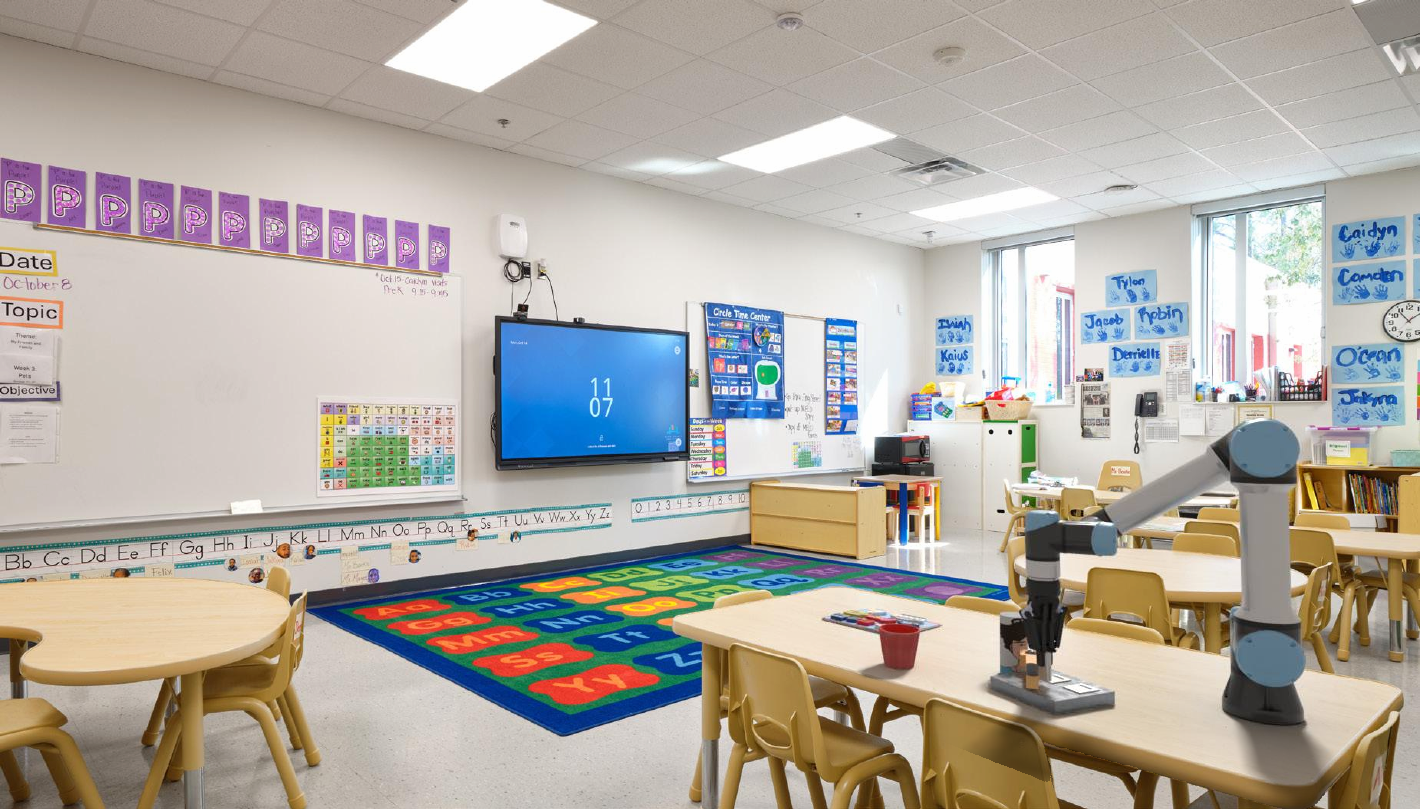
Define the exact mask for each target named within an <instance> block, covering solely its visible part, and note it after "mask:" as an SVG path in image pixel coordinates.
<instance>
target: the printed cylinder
mask: <svg viewBox="0 0 1420 809" xmlns="http://www.w3.org/2000/svg"><path fill="white" fill-rule="evenodd" d="M1020 649H1022V650H1029V646H1028V642H1027V637H1026V633H1025V628H1024V624H1023V619H1022V617H1021V616H1020V614H1019V611H1002V612H1000V613H999V675H1001V674H1008V673H1014V672H1021V671H1026V667H1023V666H1020Z"/></svg>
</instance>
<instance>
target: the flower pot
mask: <svg viewBox="0 0 1420 809" xmlns="http://www.w3.org/2000/svg"><path fill="white" fill-rule="evenodd" d="M878 634H879V641H880V647H881V653H882V659H883V663H884V666H886V667H888V668H891V669H892V668H893V669H897V670H907V669H908V670H909V669H911V668H913V667H915V663H916V657H917V652H918V646H919V641H920V640H919V639H920V634H921V632H920V629H919V628H917V627H915V626H912V625H906V624H884V625H881V626H879V633H878Z"/></svg>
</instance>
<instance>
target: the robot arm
mask: <svg viewBox="0 0 1420 809" xmlns="http://www.w3.org/2000/svg"><path fill="white" fill-rule="evenodd" d="M1300 452H1301V448H1300V442H1299V439H1298V437H1297V436H1296V434H1295V432H1294V431H1293V430H1292V429H1291V428H1290V427H1289V426H1287V425H1286V424H1285V423H1283V422H1281V421H1279V420H1276V419H1273V418H1264V417H1260V418H1253V419H1248V420H1245V421H1243V422H1241V423H1238V424H1237V425H1235V427H1233V428H1232V429H1231V430H1230V431H1229V432H1228V433H1226V434H1225V435H1223V436H1222V437H1221V438H1218V439H1217V440H1216V441H1214V442H1212V443H1211V444H1209V445H1207V447H1206V450H1205V452H1204V453H1202V454H1200V455H1198V456H1196V457H1195V458H1192V459H1191V460H1189V461H1187V462H1185V463H1182V465H1179V466H1178V467H1176V468H1174V469H1172V470H1171V471H1169V472H1167V473H1165V474H1163V475H1161V476H1160V477H1157V478H1156V479H1153V480H1152V481H1150V482H1148V483H1145V485H1143V486H1141V487H1139V488H1137V489H1136V490H1134V491H1132V492H1130V493H1128V494H1126V495H1124V496H1123V497H1120V498H1119V499H1118V500H1115V501H1113V502H1112V503H1110V504H1108V505H1106V506H1105V507H1103V508H1101V509H1099V510H1096V511H1095V512H1093V513H1092V514H1088V515H1086V516H1084V517H1082V518H1081V519H1080V520H1064V519H1061V517H1060V514H1059V512H1057V511H1055V510H1047V509H1035V510H1029V511H1027V512H1026V514H1025V515H1024V519H1025V520H1024V530H1023V531H1024V550H1025V553H1024V554H1025V575H1026V576H1027V577H1026V578H1025V592H1026V594H1027V596H1028V599H1027V602H1026V606H1025V607H1024V609H1022V608H1020V609H1019V610H1018V612H1019V614H1020V616H1021V617H1022V619H1023V624H1024V628H1025V633H1026V637H1027V642H1028V649H1029V650H1034V651H1036V661H1037V664H1038V665H1039V679H1041V680H1044V681H1046V682H1050V681H1052V675H1051V669H1052V666H1053V664H1054V654H1055V653H1057V651H1058V650H1057V649H1059V648H1060V647H1061V643H1062V638H1063V637H1062V636H1063V631H1064V630H1063V629H1064V624H1065V619H1066V618H1065V617H1066V615H1067V612H1068V610H1069V607H1068V606H1066V605H1063V604H1062V603H1060V602H1061V600H1060V598H1059V596H1061V593H1062V588H1061V586H1062V584H1061V580H1060V578H1061V575H1062V574H1061V554H1064V555H1065V554H1070V555H1071V554H1072V555H1085V556H1097V557H1114V556H1116V555H1117V553H1118V539H1119V538H1121V537H1122V536H1124V535H1126V534H1127V533H1130V532H1131V531H1134V530H1135V529H1137V528H1139V527H1141V526H1143V525H1145V524H1147V523H1148V522H1151V521H1153V520H1155V519H1157V518H1159V517H1161V516H1162V515H1164V514H1166V513H1168V512H1170V511H1172V510H1174V509H1176V508H1178V507H1180V506H1182V505H1184V504H1187V503H1188V502H1189V501H1192V500H1193V499H1195V498H1198V497H1199V496H1202V495H1203V494H1205V493H1207V492H1209V491H1210V490H1213V489H1215V488H1216V487H1218V486H1220V485H1222V484H1224V483H1226V482H1230V484H1231V485H1232V486H1233V487H1234V488H1235V489H1236V490H1237V491H1238V506H1239V509H1238V510H1239V536H1240V537H1239V541H1240V542H1239V543H1240V544H1239V545H1240V546H1239V547H1240V581H1241V582H1240V584H1241V586H1240V588H1241V605H1240V606H1236V605H1235V606H1233V607H1231V609H1230V611H1229V617H1228V620H1229V625H1230V626H1229V637H1230V638H1229V642H1230V646H1229V647H1230V653H1229V654H1230V673H1229V674H1230V675H1229V678H1228V679H1227V683H1226V685H1225V687H1224V690H1223V693H1222V695H1221V709H1222V710H1224V711H1225V712H1226V713H1228V714H1231V715H1233V716H1236V717H1238V718H1241V719H1245V720H1247V721H1253V722H1257V723H1262V724H1263V723H1264V724H1269V725H1270V724H1271V725H1279V726H1281V725H1282V726H1284V725H1287V726H1290V725H1291V726H1292V725H1298V724H1297V723H1299V724H1301V723H1303V722H1305V710H1304V709H1305V708H1304V706H1303V704H1302V700H1301V699H1300V696H1299V693H1298V691H1297V690H1298V689H1297V688H1296V685H1295V683H1296V682H1297V681H1298V680H1299V679H1300V678H1301V677H1302V675H1303V674H1304V671H1305V669H1306V666H1307V665H1306V664H1307V663H1306V662H1307V658H1306V655H1305V651H1304V650H1303V644H1302V642H1303V641H1302V640H1303V639H1302V638H1303V636H1302V618H1301V617H1299V616H1298V614H1296V613H1295V612H1294V611H1293V609H1292V606H1293V605H1292V581H1291V580H1292V579H1291V577H1292V575H1291V543H1290V540H1291V538H1290V508H1289V507H1290V505H1289V503H1290V502H1289V501H1290V500H1289V493H1290V491H1292V490H1293V489H1294V488H1295V487H1297V485H1298V474H1297V473H1298V472H1297V471H1298V468H1297V464H1298V462H1297V461H1298V460H1299V456H1300ZM1053 653H1054V654H1053ZM1300 722H1301V723H1300Z"/></svg>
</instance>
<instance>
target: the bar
mask: <svg viewBox="0 0 1420 809" xmlns="http://www.w3.org/2000/svg"><path fill="white" fill-rule="evenodd" d="M1028 650H1029V649H1028ZM1028 650H1022V649H1020V666H1023V667H1026V688H1032V689H1039V665H1038V664H1037V661H1036V651H1035V650H1034V651H1035V655H1031V654H1028V653H1027V651H1028Z"/></svg>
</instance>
